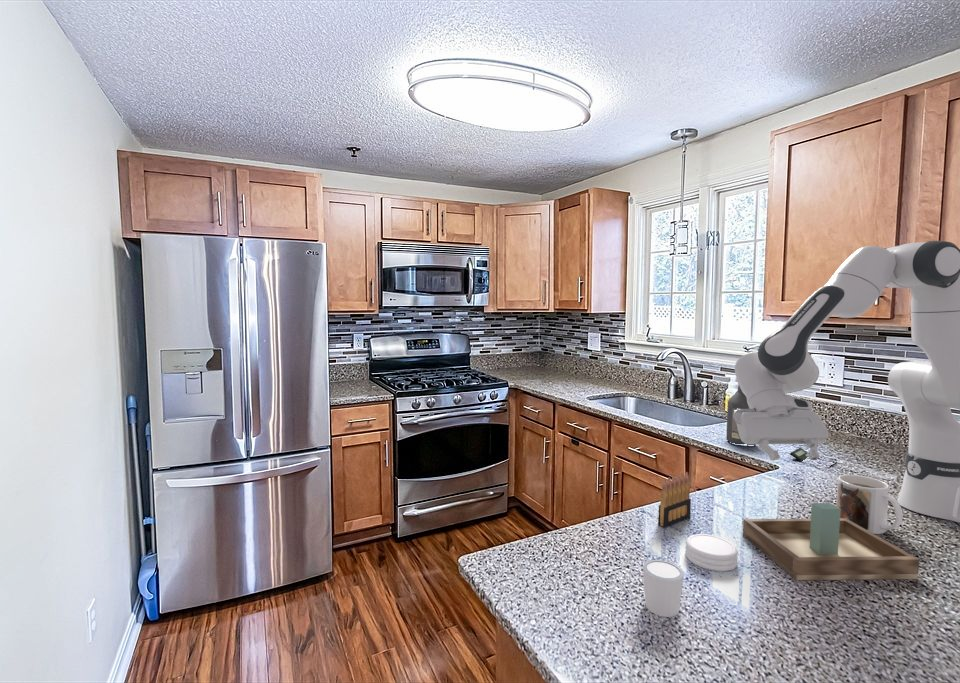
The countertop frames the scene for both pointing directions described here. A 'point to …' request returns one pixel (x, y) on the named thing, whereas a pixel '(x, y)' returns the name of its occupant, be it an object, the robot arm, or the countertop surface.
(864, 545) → the wooden serving tray
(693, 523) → the countertop surface
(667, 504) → the ammunition clip
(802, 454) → the calculator
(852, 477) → the mug
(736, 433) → the liquor
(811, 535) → the grey-green rectangular block
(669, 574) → the white cylinder
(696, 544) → the white round disc stack
